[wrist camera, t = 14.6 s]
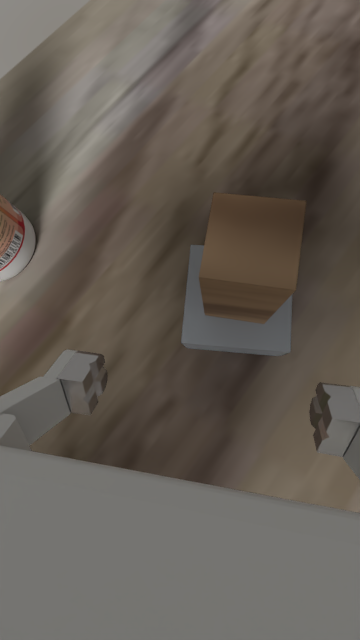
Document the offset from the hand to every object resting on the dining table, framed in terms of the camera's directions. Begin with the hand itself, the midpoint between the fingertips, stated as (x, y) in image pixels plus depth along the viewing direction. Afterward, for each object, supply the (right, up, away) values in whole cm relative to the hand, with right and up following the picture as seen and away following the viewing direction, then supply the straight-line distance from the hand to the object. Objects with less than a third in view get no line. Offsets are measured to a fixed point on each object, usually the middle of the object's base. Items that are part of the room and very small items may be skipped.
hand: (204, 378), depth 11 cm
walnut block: (+4, +5, +14) cm, 16 cm away
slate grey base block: (+5, +3, +19) cm, 20 cm away
